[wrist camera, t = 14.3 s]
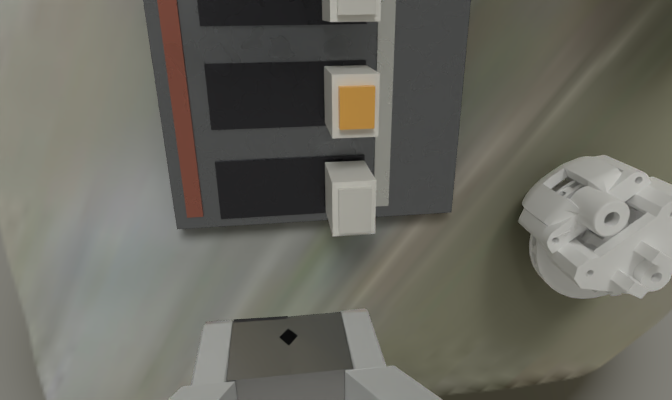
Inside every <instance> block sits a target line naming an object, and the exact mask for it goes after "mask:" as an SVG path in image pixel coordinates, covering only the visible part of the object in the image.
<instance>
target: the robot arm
mask: <svg viewBox="0 0 672 400" xmlns="http://www.w3.org/2000/svg"><path fill="white" fill-rule="evenodd" d="M168 400H442V399H441V398H440V397H438V396H437V395H435V394H434V393H433V392H431V391H430V390H428V389H427V388H426V387H424V386H423V385H421V384H420V383H418V382H417V381H416V380H414V379H413V378H411V377H410V376H409V375H407V374H406V373H404V372H403V371H402V370H400V369H399V368H397V367H396V366H386V363H385V360H384V357H383V354H382V351H381V348H380V345H379V342H378V339H377V336H376V333H375V330H374V327H373V324H372V321H371V318H370V315H369V311H368V310H367V309H366V308H362V309H354V310H345V311H340V312H333V313H322V314H312V315H301V316H291V317H288V316H283V317H267V318H251V319H235V320H234V321H233V320H223V321H211V322H206V323H205V324H204V326H203V328H202V333H201V337H200V342H199V347H198V352H197V357H196V361H195V366H194V371H193V376H192V381H191V385H190V386H183V387H181V388H180V389H179V390H178V391H176V392H175V393H174V394H173V395H172V396H171V397H170V398H169V399H168Z"/></svg>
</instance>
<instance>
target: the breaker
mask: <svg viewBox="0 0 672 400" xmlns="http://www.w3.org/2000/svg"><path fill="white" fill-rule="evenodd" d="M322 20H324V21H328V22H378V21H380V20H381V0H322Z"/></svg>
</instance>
